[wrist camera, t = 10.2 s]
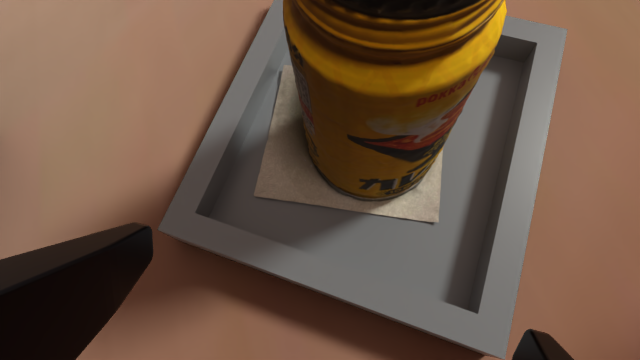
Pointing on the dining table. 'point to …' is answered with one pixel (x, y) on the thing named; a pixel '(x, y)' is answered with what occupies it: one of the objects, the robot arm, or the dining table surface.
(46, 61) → the dining table surface
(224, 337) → the dining table surface
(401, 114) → the condiment
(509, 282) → the slate tray
